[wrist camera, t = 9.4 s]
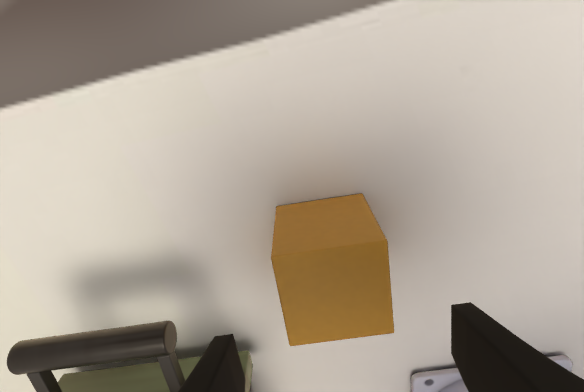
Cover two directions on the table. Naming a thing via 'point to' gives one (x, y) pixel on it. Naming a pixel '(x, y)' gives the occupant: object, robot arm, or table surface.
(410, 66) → the table surface
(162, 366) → the drawer
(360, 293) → the block
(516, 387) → the robot arm
